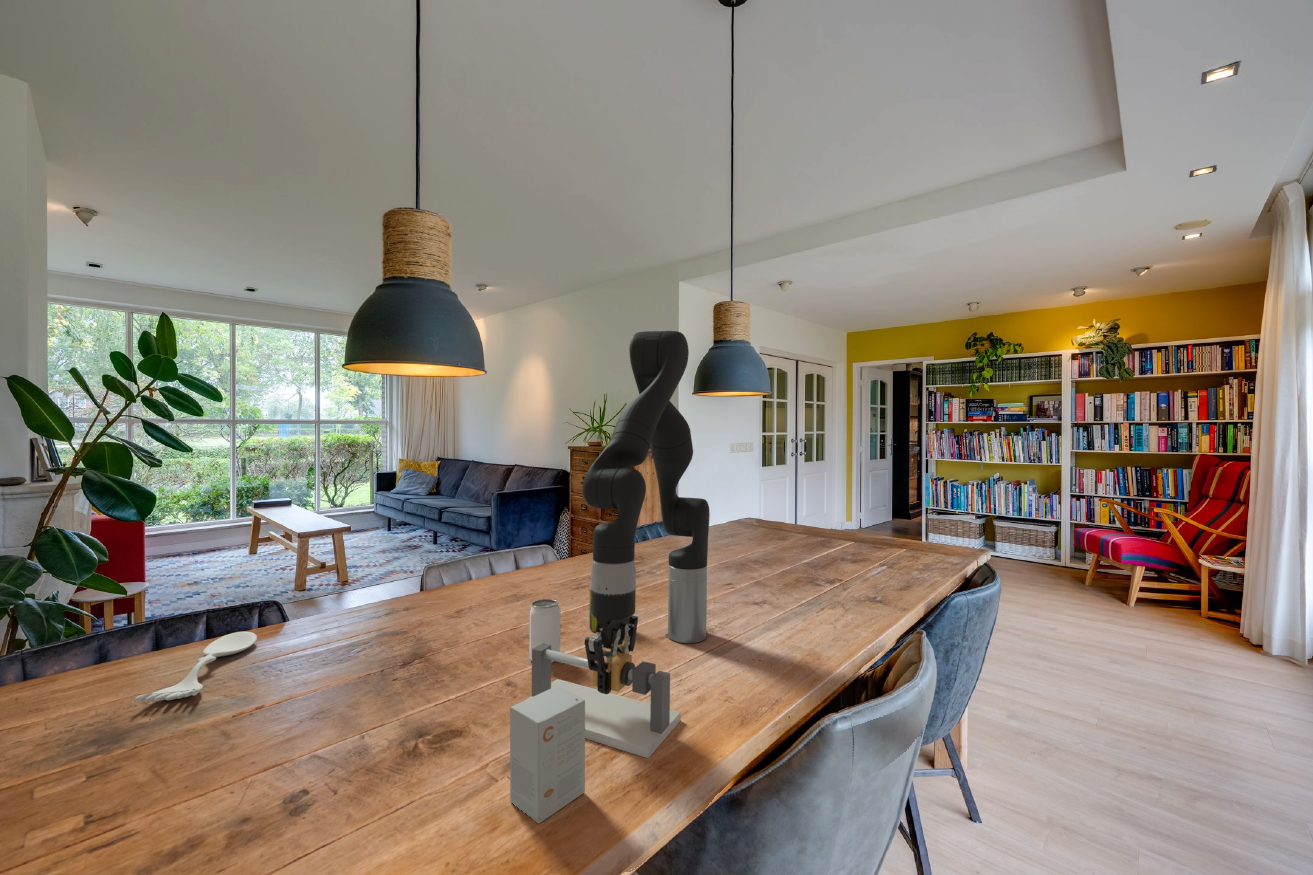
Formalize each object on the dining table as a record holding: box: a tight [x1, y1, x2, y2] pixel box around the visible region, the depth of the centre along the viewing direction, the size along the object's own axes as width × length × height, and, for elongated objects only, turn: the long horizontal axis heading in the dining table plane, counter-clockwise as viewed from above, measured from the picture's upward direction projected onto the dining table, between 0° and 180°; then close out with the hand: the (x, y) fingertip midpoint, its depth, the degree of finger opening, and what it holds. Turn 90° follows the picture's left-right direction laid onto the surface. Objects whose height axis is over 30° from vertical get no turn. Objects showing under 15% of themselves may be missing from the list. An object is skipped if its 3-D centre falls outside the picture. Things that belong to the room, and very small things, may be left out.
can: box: [529, 598, 561, 664], centre depth 117 cm, size 6×6×12 cm
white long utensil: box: [134, 631, 258, 703], centre depth 110 cm, size 9×32×4 cm, turn 18°
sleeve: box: [592, 649, 633, 692], centre depth 92 cm, size 4×5×4 cm
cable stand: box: [525, 643, 682, 759], centre depth 94 cm, size 12×26×11 cm, turn 63°
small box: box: [509, 686, 586, 825], centre depth 73 cm, size 8×6×13 cm
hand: (612, 685), depth 92 cm, fingers closed on sleeve, 4 cm apart
